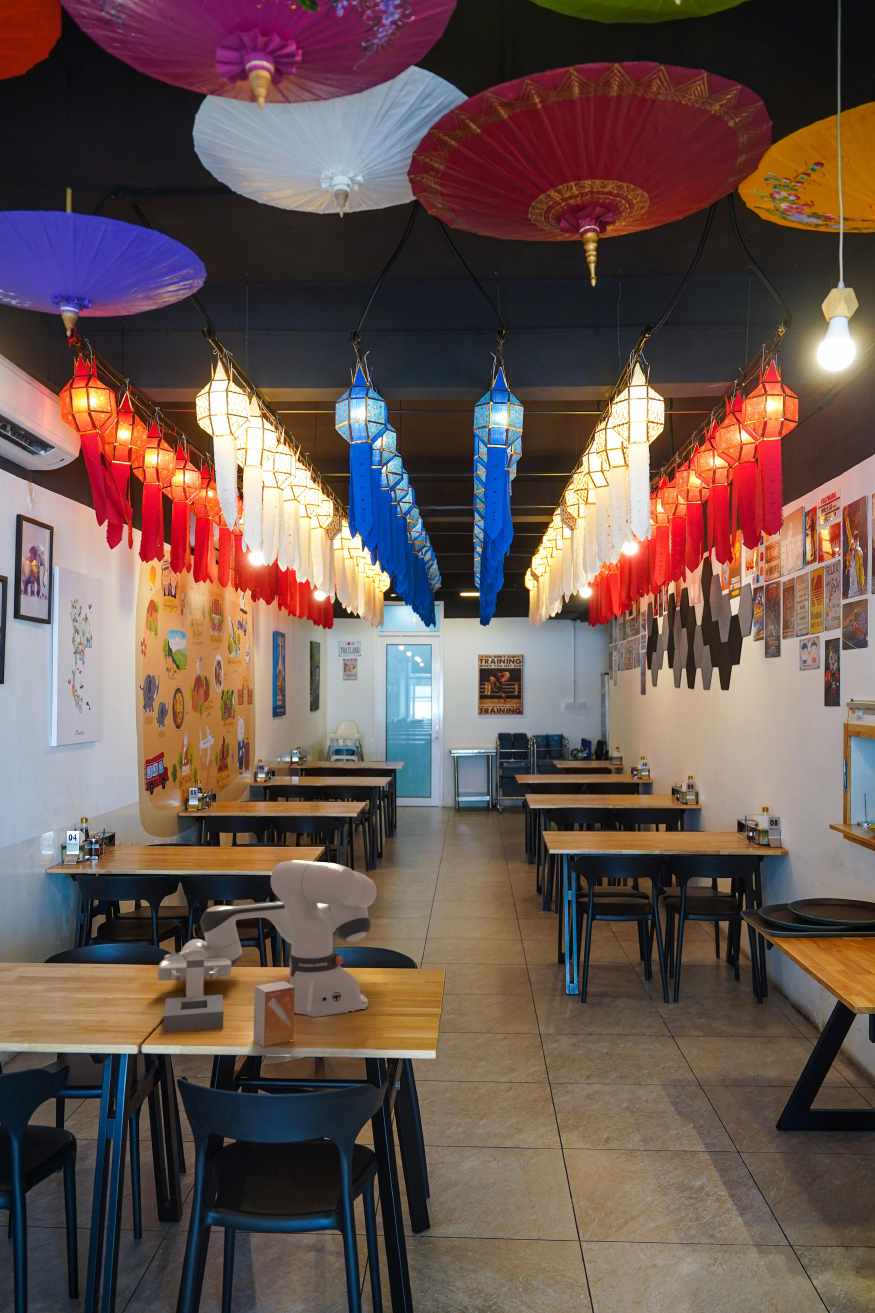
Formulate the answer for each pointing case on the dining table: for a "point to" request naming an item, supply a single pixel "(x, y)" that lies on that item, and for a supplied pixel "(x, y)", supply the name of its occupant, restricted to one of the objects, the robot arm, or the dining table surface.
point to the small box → (274, 1013)
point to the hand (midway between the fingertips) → (194, 977)
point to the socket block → (193, 1013)
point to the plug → (194, 976)
